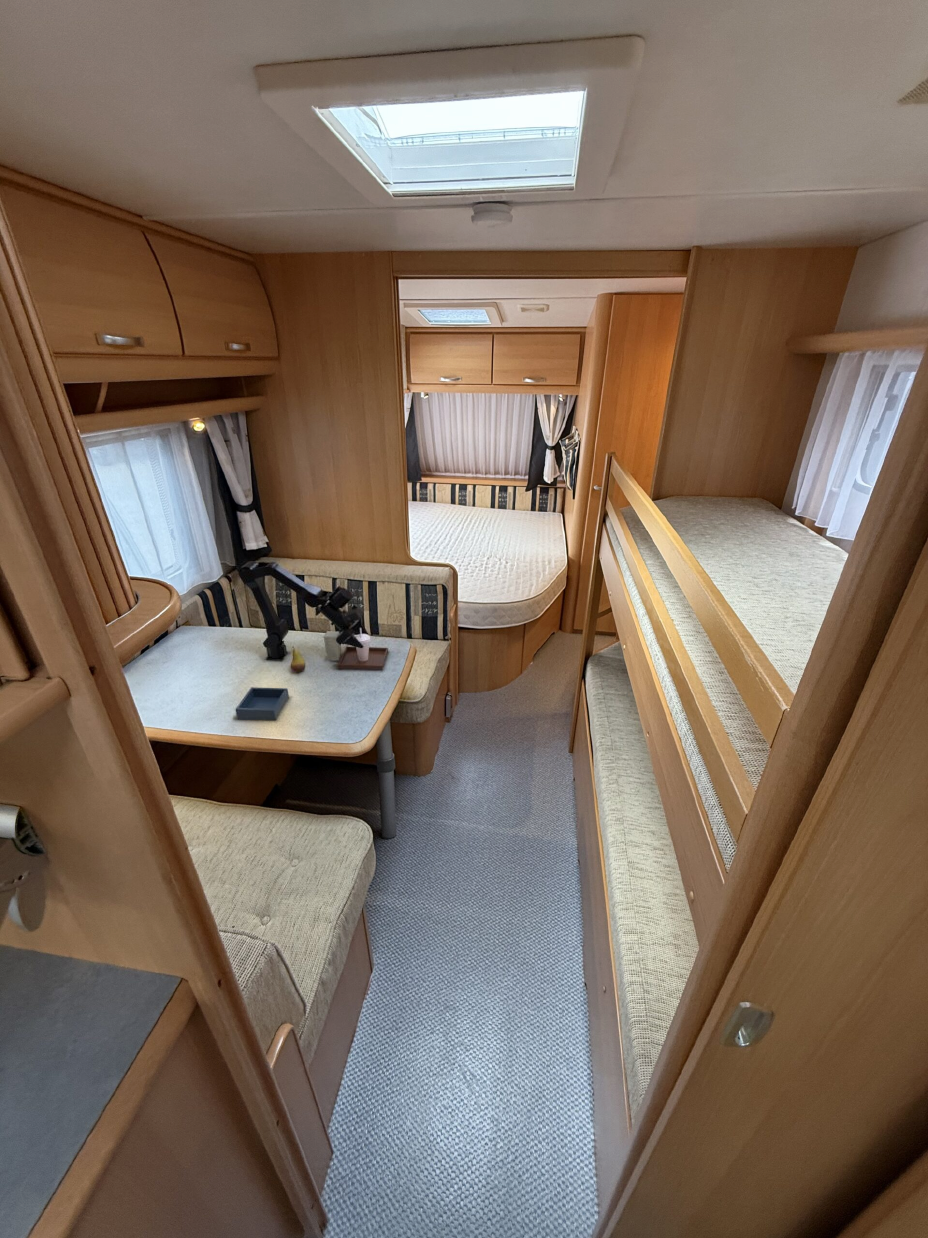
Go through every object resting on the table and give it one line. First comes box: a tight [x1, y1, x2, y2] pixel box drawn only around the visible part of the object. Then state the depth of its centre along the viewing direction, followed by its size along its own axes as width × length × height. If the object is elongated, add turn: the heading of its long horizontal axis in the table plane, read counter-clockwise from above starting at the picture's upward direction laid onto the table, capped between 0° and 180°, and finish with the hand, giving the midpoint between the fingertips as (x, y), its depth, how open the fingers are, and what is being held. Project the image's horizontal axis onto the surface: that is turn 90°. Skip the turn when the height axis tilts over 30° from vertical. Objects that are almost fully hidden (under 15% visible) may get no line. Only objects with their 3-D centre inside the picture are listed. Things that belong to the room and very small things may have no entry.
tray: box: [337, 645, 389, 671], centre depth 195 cm, size 17×14×2 cm
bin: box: [234, 686, 290, 721], centre depth 165 cm, size 13×13×4 cm
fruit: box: [290, 646, 306, 673], centre depth 185 cm, size 6×6×12 cm
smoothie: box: [355, 628, 371, 661], centre depth 192 cm, size 6×6×14 cm
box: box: [323, 630, 343, 662], centre depth 194 cm, size 5×4×11 cm
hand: (365, 641), depth 191 cm, fingers open, 9 cm apart
